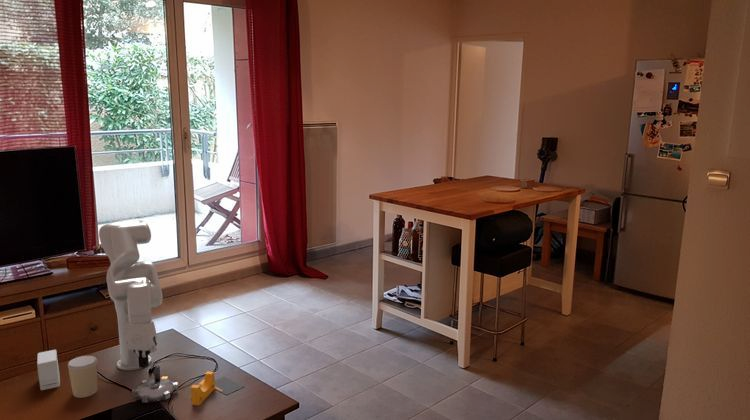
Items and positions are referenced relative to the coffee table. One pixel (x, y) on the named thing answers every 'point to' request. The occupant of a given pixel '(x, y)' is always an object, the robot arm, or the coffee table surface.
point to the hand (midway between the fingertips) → (143, 366)
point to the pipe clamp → (203, 388)
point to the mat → (226, 385)
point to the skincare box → (48, 370)
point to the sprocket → (155, 387)
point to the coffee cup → (83, 376)
